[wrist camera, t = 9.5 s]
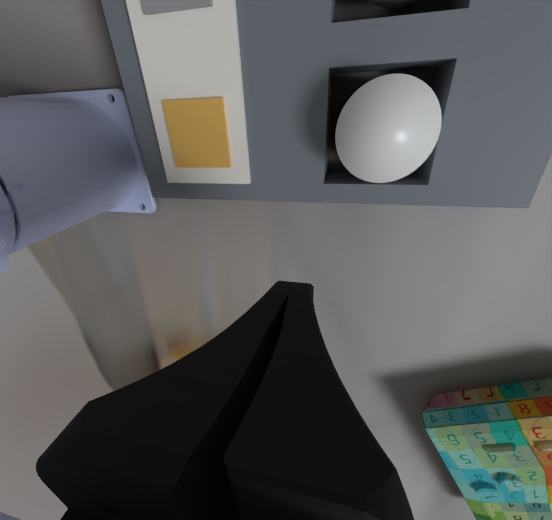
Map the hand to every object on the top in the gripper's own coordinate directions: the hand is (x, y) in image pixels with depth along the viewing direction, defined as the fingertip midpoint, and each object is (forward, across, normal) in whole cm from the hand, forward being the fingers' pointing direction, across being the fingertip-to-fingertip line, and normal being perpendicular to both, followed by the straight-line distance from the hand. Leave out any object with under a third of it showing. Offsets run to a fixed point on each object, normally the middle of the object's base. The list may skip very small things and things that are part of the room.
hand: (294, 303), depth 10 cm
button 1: (+9, -3, -6) cm, 11 cm away
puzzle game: (+10, -19, +21) cm, 30 cm away
